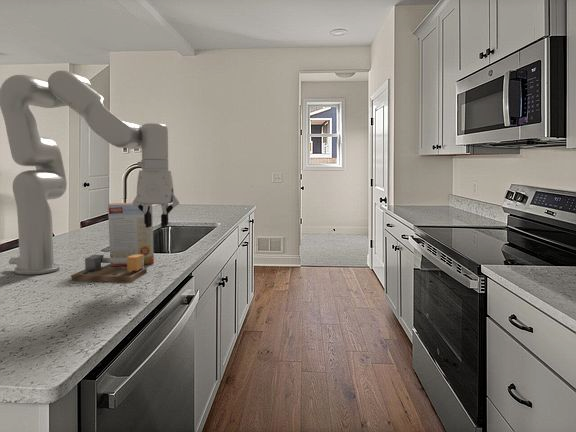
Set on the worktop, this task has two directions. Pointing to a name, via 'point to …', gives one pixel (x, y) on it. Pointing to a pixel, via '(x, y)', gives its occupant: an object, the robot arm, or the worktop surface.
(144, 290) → the worktop surface
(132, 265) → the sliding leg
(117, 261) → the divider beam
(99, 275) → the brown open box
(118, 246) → the cracker box
